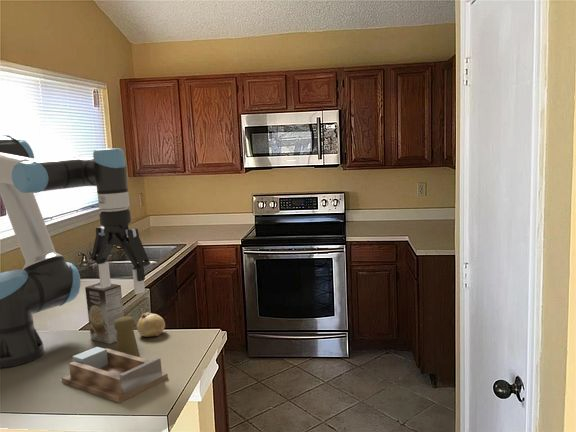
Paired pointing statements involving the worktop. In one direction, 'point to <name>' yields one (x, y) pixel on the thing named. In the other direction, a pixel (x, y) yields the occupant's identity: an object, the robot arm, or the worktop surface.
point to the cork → (126, 336)
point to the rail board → (116, 376)
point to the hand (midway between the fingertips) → (122, 290)
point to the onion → (150, 325)
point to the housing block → (93, 357)
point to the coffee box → (104, 311)
